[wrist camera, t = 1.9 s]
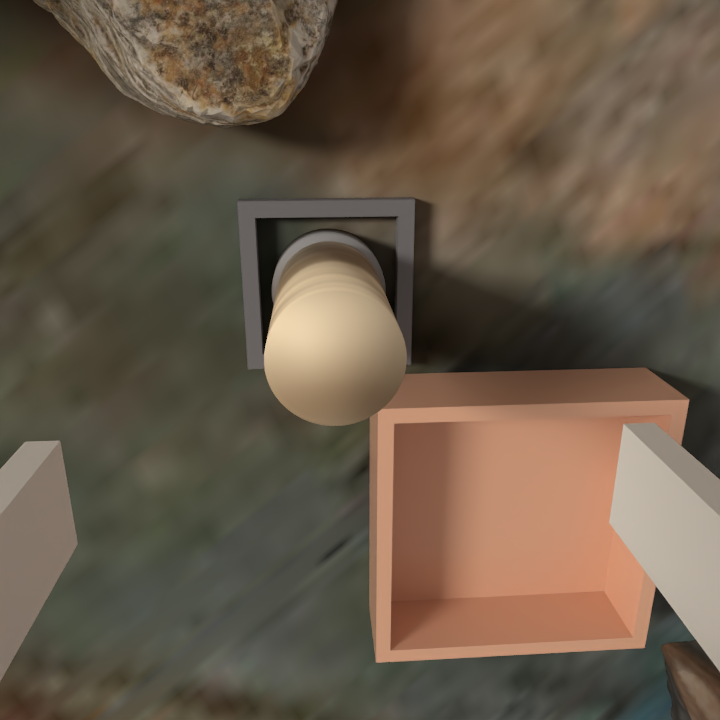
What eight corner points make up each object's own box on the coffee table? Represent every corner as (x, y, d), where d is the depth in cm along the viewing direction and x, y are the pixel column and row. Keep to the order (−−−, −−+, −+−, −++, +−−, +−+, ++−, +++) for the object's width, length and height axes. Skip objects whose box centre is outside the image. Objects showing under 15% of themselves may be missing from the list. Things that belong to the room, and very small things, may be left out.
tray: (370, 374, 36) (377, 409, 32) (645, 367, 37) (689, 399, 33) (369, 606, 42) (376, 662, 37) (610, 594, 43) (644, 647, 38)
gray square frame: (239, 198, 33) (237, 201, 32) (411, 197, 33) (415, 199, 32) (249, 362, 36) (247, 369, 35) (408, 358, 36) (410, 364, 35)
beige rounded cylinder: (271, 229, 33) (250, 284, 22) (382, 227, 34) (417, 281, 22) (276, 335, 35) (259, 436, 24) (381, 332, 36) (413, 430, 24)
